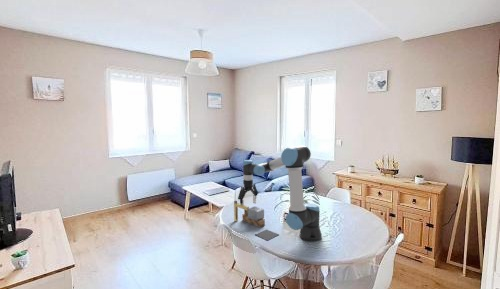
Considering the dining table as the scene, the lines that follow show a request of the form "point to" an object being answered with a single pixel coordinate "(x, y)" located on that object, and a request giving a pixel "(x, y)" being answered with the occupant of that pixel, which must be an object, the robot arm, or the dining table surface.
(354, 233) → the dining table surface
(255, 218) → the light grey block
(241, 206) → the tan wooden flat frame
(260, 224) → the plane body
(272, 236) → the mat
